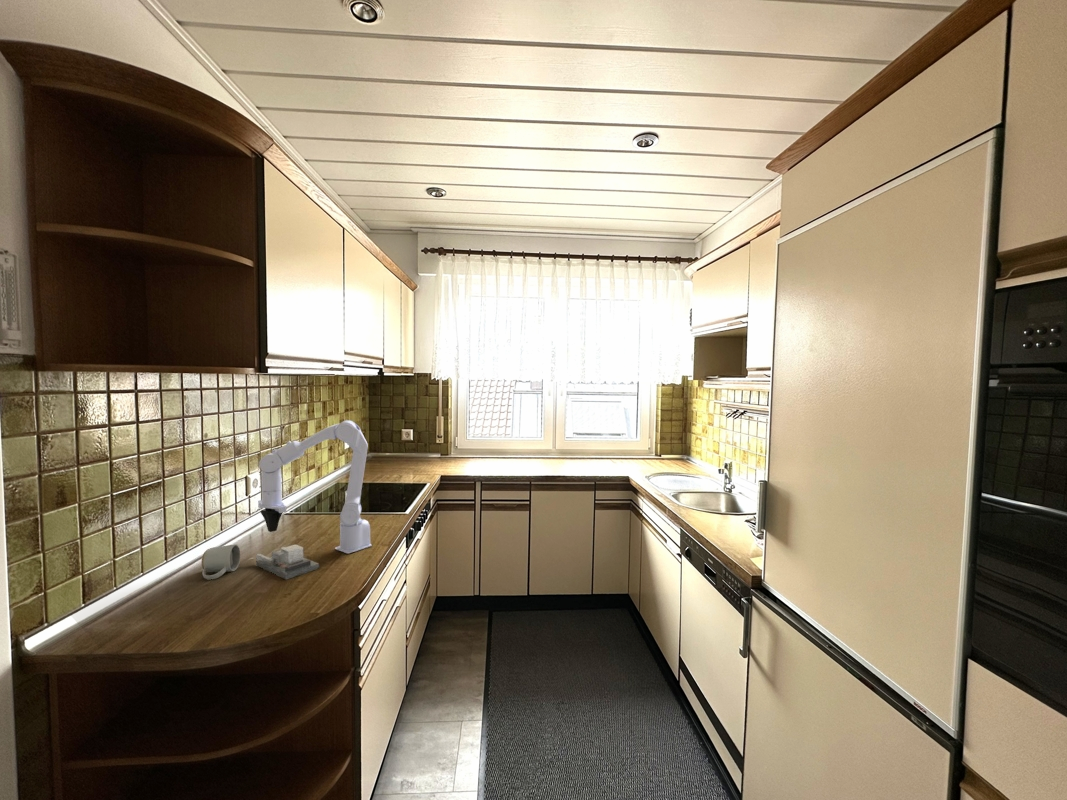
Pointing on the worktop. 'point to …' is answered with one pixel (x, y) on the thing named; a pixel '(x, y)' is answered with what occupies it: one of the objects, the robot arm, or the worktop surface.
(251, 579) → the worktop surface
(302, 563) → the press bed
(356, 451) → the robot arm
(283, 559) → the white rectangular block
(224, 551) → the ceramic mug
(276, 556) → the block
